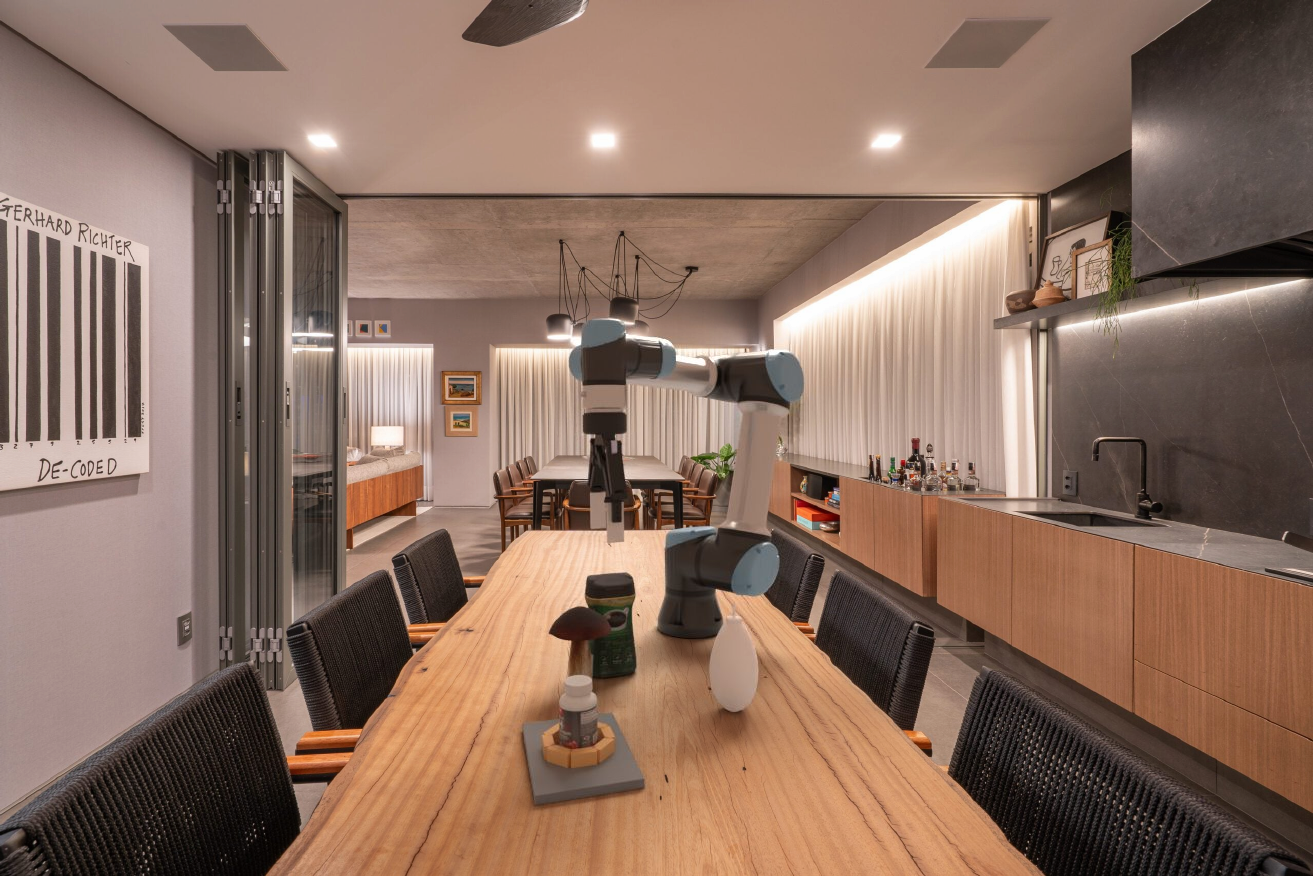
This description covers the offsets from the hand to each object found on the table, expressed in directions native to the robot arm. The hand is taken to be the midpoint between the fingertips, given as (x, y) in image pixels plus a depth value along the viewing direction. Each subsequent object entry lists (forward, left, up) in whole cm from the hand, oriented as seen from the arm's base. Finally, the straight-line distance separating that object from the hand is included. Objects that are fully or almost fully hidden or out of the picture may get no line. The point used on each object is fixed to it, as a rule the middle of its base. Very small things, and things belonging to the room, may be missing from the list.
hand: (606, 534), depth 111 cm
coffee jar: (-3, -11, -28) cm, 30 cm away
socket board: (+8, +19, -28) cm, 35 cm away
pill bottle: (+8, +19, -27) cm, 34 cm away
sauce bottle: (-19, +11, -28) cm, 36 cm away
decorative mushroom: (+4, -3, -28) cm, 29 cm away
